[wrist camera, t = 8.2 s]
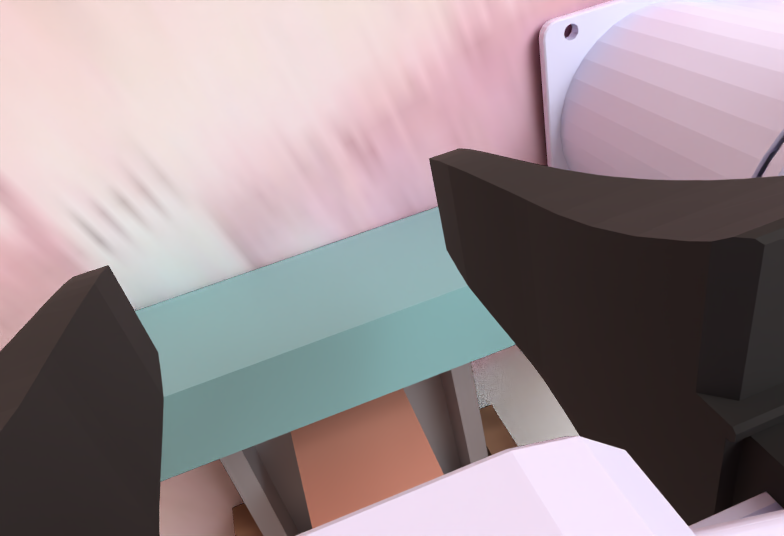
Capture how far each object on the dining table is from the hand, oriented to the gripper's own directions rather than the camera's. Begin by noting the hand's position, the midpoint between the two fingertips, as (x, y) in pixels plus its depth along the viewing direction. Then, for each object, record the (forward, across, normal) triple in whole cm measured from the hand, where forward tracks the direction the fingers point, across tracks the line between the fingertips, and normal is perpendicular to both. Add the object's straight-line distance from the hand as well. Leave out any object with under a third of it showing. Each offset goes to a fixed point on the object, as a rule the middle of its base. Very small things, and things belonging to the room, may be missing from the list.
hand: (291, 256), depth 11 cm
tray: (+9, 0, +12) cm, 16 cm away
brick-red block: (+8, 0, +13) cm, 16 cm away
